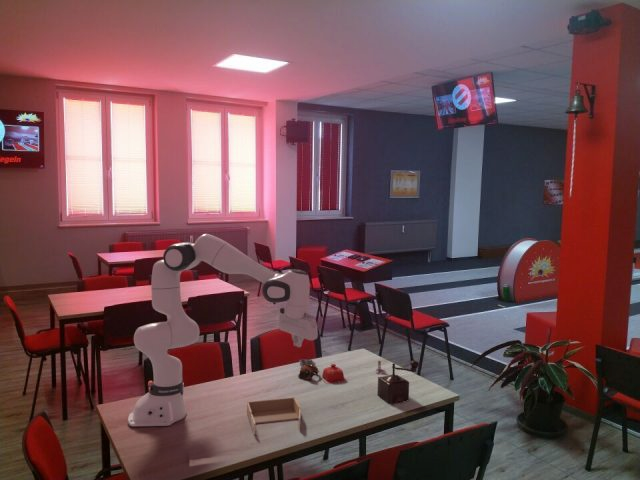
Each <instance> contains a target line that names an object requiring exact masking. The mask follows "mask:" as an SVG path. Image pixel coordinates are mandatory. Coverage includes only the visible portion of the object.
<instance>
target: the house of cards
mask: <svg viewBox="0 0 640 480" xmlns="http://www.w3.org/2000/svg"><path fill="white" fill-rule="evenodd" d="M381 363H382V362H381V360H378V361H377V365H378V366H377V368H376V371H375V373H376V375H383V374H386V369H383V368H382V364H381Z"/></svg>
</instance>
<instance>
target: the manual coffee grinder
mask: <svg viewBox="0 0 640 480" xmlns="http://www.w3.org/2000/svg"><path fill="white" fill-rule="evenodd" d="M419 367H420V363H419V362H418V361H417V360H412V361H410V369H409V368H404V367H396V364H395V363H394V362H393V363H392V365H391V368H392V374H389V375H385V376H383V375H382V376H378V377H377V396H378V397H379V398H380V400H382V401H384V402H385V403H386V404H388V405H389V404H391V405H395V403H396V404H398V403H400V404H402V403H404V402H403V401H406V402H408V401H407V400H409V401H410V396H409V395H410V381H408V380H407V379H405V378H403V377H402V376H401V375H398V374H395V373H396V371H395V370H399V371H406V372H412V373H417V369H418V368H419Z"/></svg>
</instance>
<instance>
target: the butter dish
mask: <svg viewBox="0 0 640 480" xmlns="http://www.w3.org/2000/svg"><path fill="white" fill-rule="evenodd" d="M321 377H322V381H323V382H324V383H325V384H327V385H328V384H329V385H331V384H332V383H333V384H336V383H337V384H339V382H341V383H344V382H345V376H344V371H343V370H342V369H341V368H340V367H339V366H337V365H336V364H335V363H331V364H330V366H329V367H325V368H323V371H322V376H321Z"/></svg>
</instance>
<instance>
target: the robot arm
mask: <svg viewBox="0 0 640 480" xmlns="http://www.w3.org/2000/svg"><path fill="white" fill-rule="evenodd" d="M202 262H204V263H206V264H208V265H209V266H211V267H213V268H214V269H216V270H218V271H219V272H221V273H225V274H227V275H234V274H235V275H238V274H239V275H246V276H249V277H251V278H253V279H255V280H257V281H259V282H261V283H262V284H263V285H262V289H261V293H262V295H263V298H264V299H265V300H266V301H267V302H269V303H273V304H276V303H284V302H286V306H280V307H279V308H278V313H279V314H278V327H279V330H280V331H282V332H285V333H288V334H290V335H291V340H292V341H293V346H295V347H297V348H301V347H302V346H303V345H302V344H303V342H304V340H305V339H306V340H308V341H315V340H317V339H318V335H319V334H318V324H317V320H316V318H315V316H314V315H312V314H310V298H309V296H310V294H311V293H310V290H311V288H310V287H311V286H310V277H309V273H307V272H306V271H305V270H302V269H298V268H296V269H295V268H291V269H289V270H287V271H286V272H278V271H275V270H272V269H271V268H269V267H267V266H265V265H264V264H262V263H260V262H259V261H257V260H255V259H252V258H251V257H249V256H248V255H246V254H245V253H243V252H242V251H241V250H240V249H238V248H237V247H235V246H233V245H232V244H230V243H228V242H227V241H226V240H223V239H222V238H219V237H217V236H215V235H213V234H209V233H203V234H201V235H200V236H198V238H197V239H196V240H195V242H193V241H183V242H182V241H181V242H179V243H173V244H171V245H169V246H168V247H167V248H165V251H164V252H163V256H162V259H159V260H158V261H156V262H155V263H154V264H153V266H152V270H151V271H152V273H151V283H150V284H151V286H150V287H151V306H152V309H153V310H154V311H156V312H158V313H160V314H163V315H165V316H166V318H167V320H166V321H159V322H152V323H148V324H144V325H142V326H139V327H137V328H136V329H135V332H134V334H133V343H134V345H135V348H136V349H137V350H138V351H139V352H141V353H143V354H145V356H147V357H148V359H149V360H150V362H151V365H152V372H153V380H149V381H148V383H147V386H148V388H147V389H148V392H147V393H145V394H144V395H143V396H141V397H140V398H139V399H138V400H137V401H136V403H135V405H134V409H133V410H132V411H131V412H130V413H129V415H128V418H127V424H128V425H129V426H131V427H166V426H167V427H168V426H171V425H173V424H174V423H175V422H179V421H181V420H183V419H184V418H185V417H186V416H187V413H188V412H187V410H186V407H185V406H186V405H185V401H184V400H185V399H184V392H185V389H184V386H185V385H184V384H185V383H184V379H183V364H182V361H181V359H179V358H178V357H176V356H174V355H170V354H169V353H168V350H170V349H176V348H183V347H187V346H190V345H193V344H195V343H197V341H198V339H199V337H200V333H201V331H200V327H199V324H198V323H197V322H196V321H195V320H194V319H192V318H191V317H189V315H188V314H187V313H186V312H185V310H184V307H183V305H182V304H183V303H182V296H181V294H182V293H181V274H182V273H183V272H184V271H189V270H191V269H194V268H196V267H198V266H199V265H201V264H202Z"/></svg>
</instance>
